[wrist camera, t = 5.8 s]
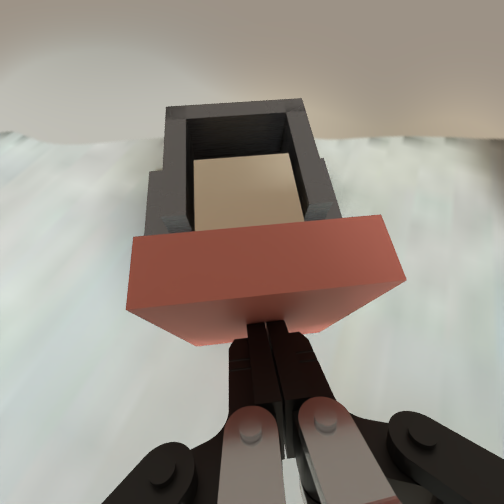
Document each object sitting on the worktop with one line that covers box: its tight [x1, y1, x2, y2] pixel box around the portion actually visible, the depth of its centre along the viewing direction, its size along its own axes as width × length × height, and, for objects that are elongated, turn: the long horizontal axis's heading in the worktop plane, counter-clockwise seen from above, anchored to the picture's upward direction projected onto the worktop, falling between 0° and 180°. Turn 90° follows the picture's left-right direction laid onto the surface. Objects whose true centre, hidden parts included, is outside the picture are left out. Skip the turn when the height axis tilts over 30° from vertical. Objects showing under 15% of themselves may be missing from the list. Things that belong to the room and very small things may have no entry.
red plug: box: [126, 153, 406, 346], centre depth 12 cm, size 7×9×9 cm
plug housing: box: [144, 98, 342, 236], centre depth 16 cm, size 14×11×6 cm
